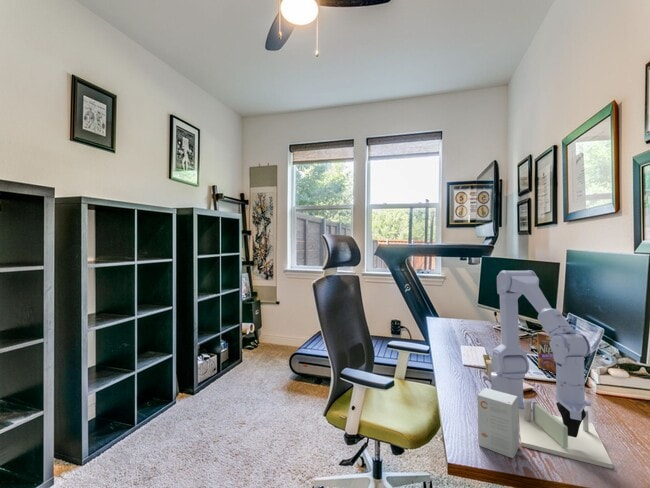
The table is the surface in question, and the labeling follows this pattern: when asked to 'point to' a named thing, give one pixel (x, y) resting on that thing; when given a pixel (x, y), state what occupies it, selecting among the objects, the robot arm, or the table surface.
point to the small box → (498, 422)
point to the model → (488, 365)
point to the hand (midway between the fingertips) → (571, 435)
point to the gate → (550, 425)
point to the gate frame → (579, 447)
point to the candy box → (545, 353)
